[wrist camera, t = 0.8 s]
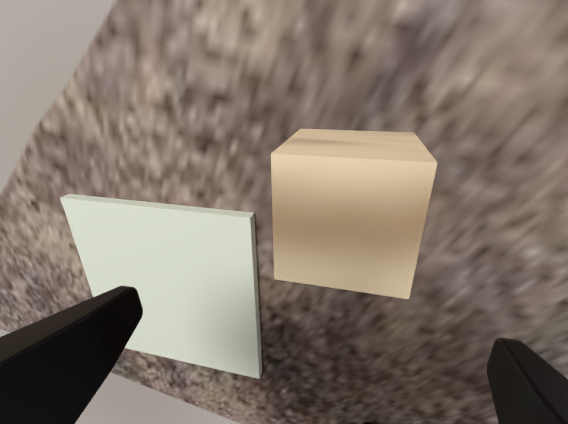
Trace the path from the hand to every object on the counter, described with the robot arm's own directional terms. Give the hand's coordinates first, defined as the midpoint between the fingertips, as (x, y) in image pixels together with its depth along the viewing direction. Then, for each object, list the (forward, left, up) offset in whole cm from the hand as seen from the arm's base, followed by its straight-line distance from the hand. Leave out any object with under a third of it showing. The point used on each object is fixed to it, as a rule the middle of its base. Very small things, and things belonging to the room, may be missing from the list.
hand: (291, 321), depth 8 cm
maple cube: (0, -1, -12) cm, 12 cm away
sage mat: (-10, +13, -12) cm, 20 cm away
